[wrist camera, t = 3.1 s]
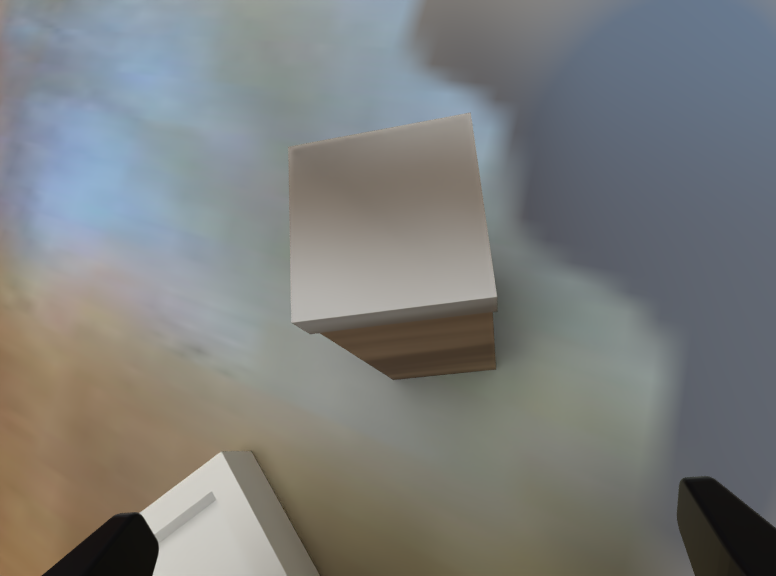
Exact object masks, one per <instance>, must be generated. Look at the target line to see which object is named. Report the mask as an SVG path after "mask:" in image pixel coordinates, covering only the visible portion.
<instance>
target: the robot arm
mask: <svg viewBox="0 0 776 576" xmlns="http://www.w3.org/2000/svg"><path fill="white" fill-rule="evenodd" d="M677 521H678V526H679V530H680V533H681V536H682V539H683V542H684V545H685V548H686V551H687V554H688V556H689V559H690V562H691V565H692V568H693V571H694V574H695V576H776V528H775V527H774V526H772V525H771V524H770V523H769V522H768V521H766V520H765V519H764V518H762V517H761V516H760V515H759V514H758V513H756V512H755V511H754V510H753V509H751V508H750V507H749V506H748V505H746V504H745V503H744V502H743V501H741V500H740V499H739V498H738V497H737V496H735V495H734V494H733V493H732V492H730V491H729V490H728V489H727V488H725V487H724V486H723V485H722V484H720V483H719V482H718V481H716V480H715V479H714V478H711V477H709V476H700V477H685V478H683V479H682V480H681V481H680V484H679V493H678V506H677ZM158 554H159V544H158V540H157V538H156V537H155V535H154V533H153V532H152V530H151V528H150V527H149V525H148V524H147V522H146V520H145V519H144V517H143V516H142V515H141V514H140V513H137V512H132V513H120V514H117V515H114V516H113V517H112V518H110V519H109V520H108V521H107V522H105V523H104V524H103V525H102V526H101V527H99V528H98V529H97V530H96V531H95V532H93V533H92V534H91V535H90V536H89V537H87V538H86V539H85V540H84V541H83V542H81V543H80V544H79V545H78V546H77V547H75V548H74V549H73V550H72V551H71V552H70V553H68V554H67V555H66V556H65V557H64V558H62V559H61V560H60V561H59V562H58V563H56V564H55V565H54V566H53V567H52V568H50V569H49V570H48V571H47V572H46V573H44V574H43V575H42V576H153V572H154V569H155V565H156V562H157V558H158Z"/></svg>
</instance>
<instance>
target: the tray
mask: <svg viewBox="0 0 776 576" xmlns="http://www.w3.org/2000/svg"><path fill="white" fill-rule="evenodd" d="M140 514H141V515H142V516H143V517H144V519H145V520H146V522H147V524H148V525H149V527H150V528H151V530H152V532H153V533H154V535H155V537H156V538H157V540H158V544H159V554H158V558H157V562H156V565H155V569H154V572H153V576H320V575H319V573H318V571H317V569H316V567H315V566H314V564H313V562H312V560H311V558H310V557H309V555H308V553H307V551H306V549H305V548H304V546H303V544H302V542H301V540H300V538H299V537H298V535H297V533H296V531H295V529H294V528H293V526H292V524H291V522H290V520H289V519H288V517H287V515H286V513H285V511H284V510H283V508H282V506H281V504H280V502H279V501H278V499H277V497H276V495H275V493H274V491H273V490H272V488H271V486H270V484H269V482H268V481H267V479H266V477H265V475H264V473H263V472H262V470H261V468H260V466H259V464H258V463H257V461H256V459H255V457H254V455H253V453H252V452H251V451H223V452H220V453H219V454H217V455H216V456H215V457H213V458H212V459H211V460H209V461H208V462H207V463H205V464H204V465H203V466H201V467H200V468H199V469H197V470H196V471H195V472H193V473H192V474H191V475H189V476H188V477H187V478H185V479H184V480H183V481H182V482H180V483H179V484H178V485H176V486H175V487H174V488H172V489H171V490H170V491H168V492H167V493H166V494H164V495H163V496H162V497H160V498H159V499H158V500H156V501H155V502H154V503H152V504H151V505H150V506H148V507H147V508H146V509H144V510H143V511H142V512H140Z"/></svg>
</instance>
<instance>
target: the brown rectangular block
mask: <svg viewBox="0 0 776 576" xmlns="http://www.w3.org/2000/svg"><path fill="white" fill-rule="evenodd" d="M288 152H289V212H290V273H291V323H293V324H294V325H296V326H298V327H299V328H301V329H303V330H304V331H306V332H308V333H309V334H315V333H320V334H322V335H324V336H325V337H327V338H328V339H330V340H331V341H333V342H335V343H336V344H338V345H339V346H341V347H343V348H344V349H346V350H347V351H349V352H350V353H352V354H354V355H355V356H357V357H358V358H360V359H361V360H363V361H365V362H366V363H368V364H369V365H371V366H373V367H374V368H376V369H377V370H379V371H380V372H382V373H384V374H385V375H387V376H388V377H390V378H391V379H393V380H397V379H406V378H416V377H426V376H435V375H445V374H455V373H465V372H474V371H484V370H494V369H496V361H495V344H494V328H493V312H496V311H497V293H496V286H495V279H494V272H493V265H492V258H491V251H490V244H489V237H488V230H487V224H486V217H485V210H484V203H483V196H482V189H481V182H480V175H479V168H478V161H477V154H476V147H475V140H474V133H473V126H472V119H471V113H466V114H461V115H456V116H450V117H445V118H440V119H434V120H429V121H424V122H418V123H413V124H408V125H402V126H397V127H392V128H386V129H381V130H376V131H370V132H365V133H360V134H354V135H349V136H344V137H338V138H333V139H328V140H322V141H317V142H312V143H306V144H301V145H296V146H290V147H288Z"/></svg>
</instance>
